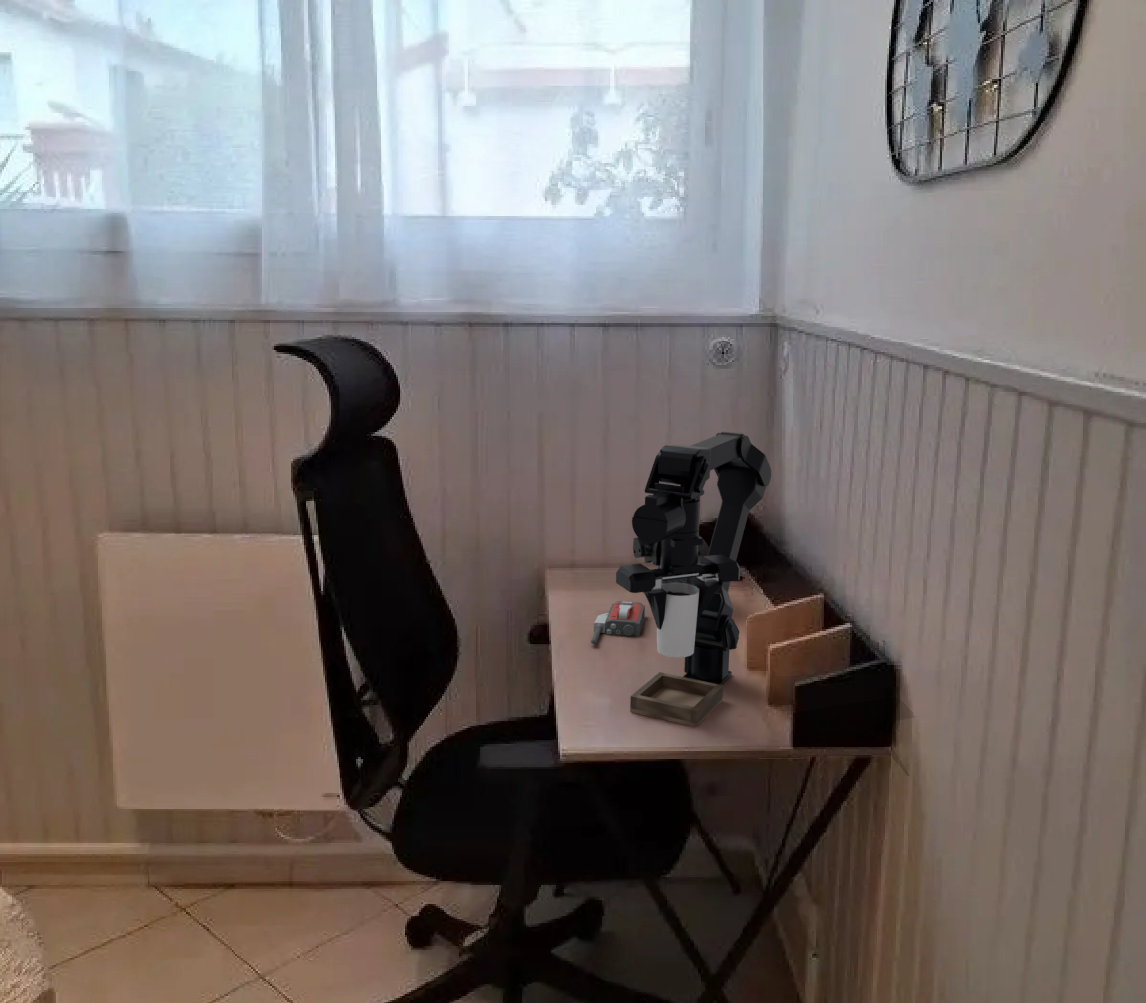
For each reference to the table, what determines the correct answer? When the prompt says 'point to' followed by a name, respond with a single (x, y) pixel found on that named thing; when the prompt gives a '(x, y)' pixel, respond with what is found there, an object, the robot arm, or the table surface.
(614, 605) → the walkie-talkie
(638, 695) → the frame
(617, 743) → the table surface
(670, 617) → the white cup
